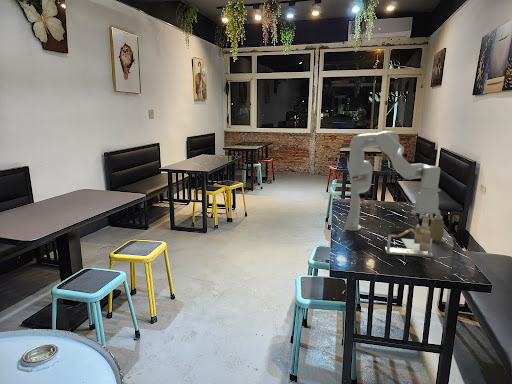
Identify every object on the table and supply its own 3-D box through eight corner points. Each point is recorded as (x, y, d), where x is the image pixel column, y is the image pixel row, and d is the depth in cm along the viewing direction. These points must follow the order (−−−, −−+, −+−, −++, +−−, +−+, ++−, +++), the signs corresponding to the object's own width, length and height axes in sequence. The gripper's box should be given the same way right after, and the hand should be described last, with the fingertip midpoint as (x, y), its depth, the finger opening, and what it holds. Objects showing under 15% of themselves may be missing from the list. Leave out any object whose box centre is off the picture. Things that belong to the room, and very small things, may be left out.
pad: (401, 239, 189) (401, 238, 189) (419, 240, 187) (419, 239, 187) (407, 249, 176) (407, 248, 175) (427, 250, 174) (427, 249, 174)
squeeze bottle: (434, 243, 184) (438, 212, 179) (423, 238, 191) (427, 208, 187) (445, 241, 186) (450, 211, 181) (434, 236, 193) (439, 207, 189)
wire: (384, 249, 176) (387, 225, 172) (428, 252, 172) (432, 228, 169) (387, 253, 170) (389, 229, 167) (432, 257, 166) (436, 232, 163)
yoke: (413, 242, 175) (417, 212, 171) (421, 242, 174) (425, 213, 170) (420, 250, 164) (424, 219, 160) (428, 251, 163) (433, 220, 159)
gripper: (443, 189, 164) (438, 224, 168) (409, 188, 167) (404, 222, 171) (449, 193, 157) (443, 229, 161) (413, 191, 159) (408, 227, 164)
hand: (423, 225), depth 166 cm, fingers closed on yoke, 3 cm apart
